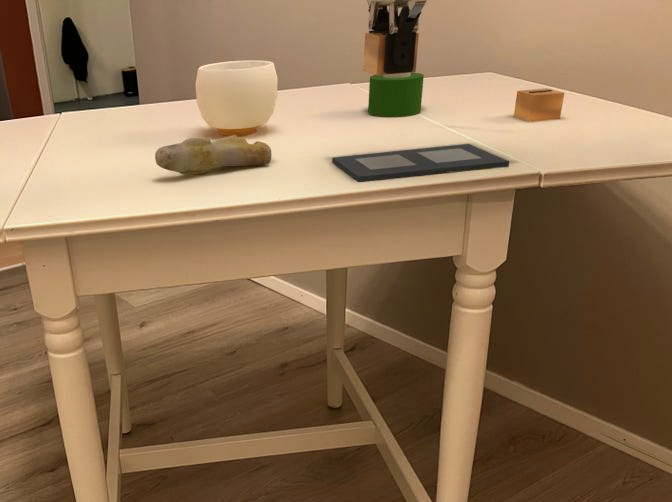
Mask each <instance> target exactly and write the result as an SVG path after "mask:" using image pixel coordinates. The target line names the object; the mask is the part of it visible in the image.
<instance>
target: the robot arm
mask: <svg viewBox="0 0 672 502" xmlns="http://www.w3.org/2000/svg"><path fill="white" fill-rule="evenodd" d="M427 1H428V0H366V2H367V5H368V10H367V11H368V13H369V16H368V23H367V24H368V27H367V28H368V33H373V32H378V31H390V34H386V41H385V56H384V73H386V74H395V73H406V72H411V71H412V70H413V67H414V56H415V44H416V33H418V31H419V24H420V23H419V22H420V21H419V19H420V16H421V14H422V11H423V9H424V7H425V6H426V4H427ZM399 9H400V12H399Z"/></svg>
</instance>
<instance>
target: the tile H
mask: <svg viewBox="0 0 672 502" xmlns="http://www.w3.org/2000/svg"><path fill="white" fill-rule="evenodd" d="M386 34H390V31H378V32H373V33H369V32H365V34H364V48H363V49H364V50H363V67H362V71H363V72H366V73H369V74H372V75H389V74H386V73H384V56H385V41H386ZM419 37H420V32H416V44H415V56H414V67H413V70H412V71H411V72H406V73H417V63H418V62H417V60H418V49H419ZM395 74H400V73H395Z"/></svg>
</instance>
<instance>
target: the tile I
mask: <svg viewBox="0 0 672 502" xmlns="http://www.w3.org/2000/svg"><path fill="white" fill-rule="evenodd" d="M564 98H565V92H564V91H560V90H555V89H553V88H552V89H551V88H545V87H544V88H535V89H534V88H533V89H524V90H517V91H516V97H515V103H514V110H513V117H514V118H517V119H519V120H523V121H526V122H530V123H532V122H533V123H534V122H542V121H552V120H561V115H562V109H563V103H564Z"/></svg>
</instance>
